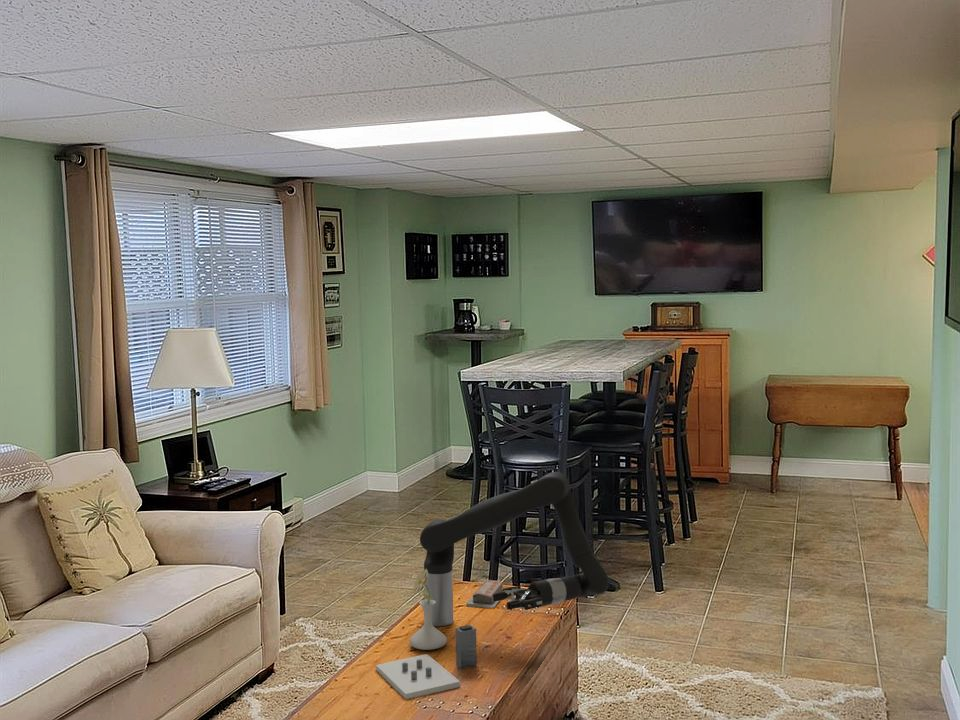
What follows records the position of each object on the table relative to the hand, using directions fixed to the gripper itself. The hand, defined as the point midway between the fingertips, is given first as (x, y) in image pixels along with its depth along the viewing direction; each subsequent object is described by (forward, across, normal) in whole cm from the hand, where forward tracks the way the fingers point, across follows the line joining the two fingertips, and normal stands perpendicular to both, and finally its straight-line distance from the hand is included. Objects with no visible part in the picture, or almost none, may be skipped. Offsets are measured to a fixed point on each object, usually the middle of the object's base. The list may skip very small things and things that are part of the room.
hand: (500, 601), depth 276 cm
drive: (+11, 0, +17) cm, 20 cm away
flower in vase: (+15, -18, +17) cm, 29 cm away
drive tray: (+27, +1, +17) cm, 32 cm away
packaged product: (-21, -48, +17) cm, 55 cm away
